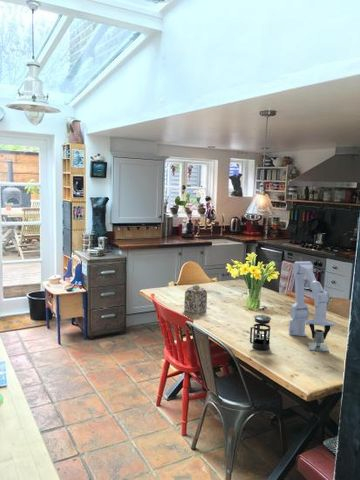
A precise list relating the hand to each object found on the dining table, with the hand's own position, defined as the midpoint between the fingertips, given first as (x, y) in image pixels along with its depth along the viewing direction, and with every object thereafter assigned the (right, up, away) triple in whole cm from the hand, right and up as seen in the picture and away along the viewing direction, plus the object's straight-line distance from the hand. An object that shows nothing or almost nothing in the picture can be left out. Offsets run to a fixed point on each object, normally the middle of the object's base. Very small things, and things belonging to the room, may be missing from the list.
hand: (318, 338), depth 221 cm
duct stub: (0, -6, +1) cm, 6 cm away
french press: (-32, -5, 0) cm, 33 cm away
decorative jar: (-65, +4, +62) cm, 90 cm away
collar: (0, -2, 0) cm, 2 cm away
